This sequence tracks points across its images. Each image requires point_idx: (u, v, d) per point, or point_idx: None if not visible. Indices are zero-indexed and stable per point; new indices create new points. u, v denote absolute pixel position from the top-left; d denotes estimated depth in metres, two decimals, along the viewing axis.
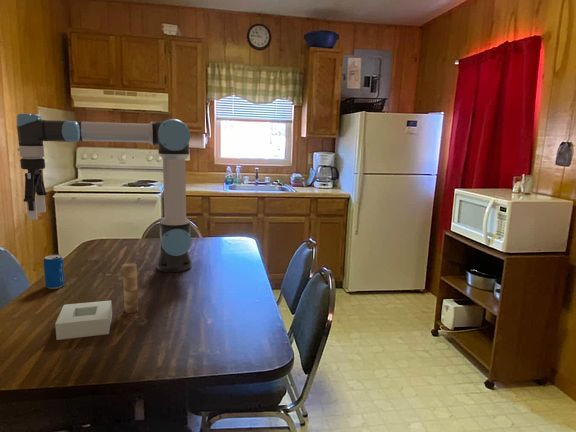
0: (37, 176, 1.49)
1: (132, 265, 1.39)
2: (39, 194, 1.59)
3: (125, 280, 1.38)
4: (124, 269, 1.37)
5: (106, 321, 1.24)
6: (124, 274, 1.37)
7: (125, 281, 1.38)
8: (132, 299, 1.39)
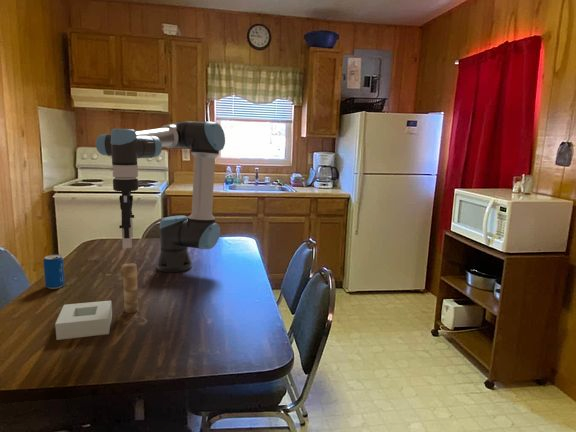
0: (130, 198, 1.33)
1: (132, 265, 1.39)
2: None
3: (125, 280, 1.38)
4: (124, 269, 1.37)
5: (106, 321, 1.24)
6: (124, 274, 1.37)
7: (125, 281, 1.38)
8: (132, 299, 1.39)
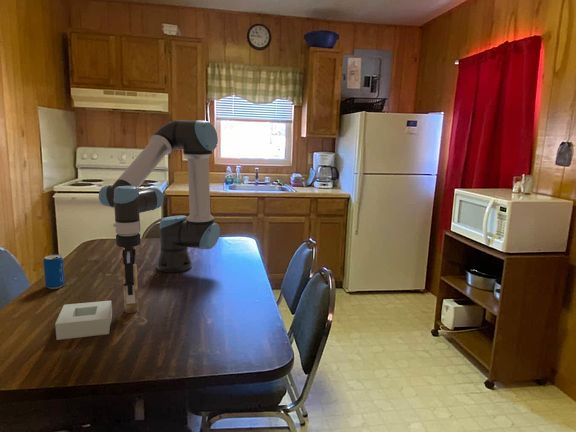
0: (133, 254, 1.36)
1: None
2: None
3: None
4: (124, 269, 1.37)
5: (106, 321, 1.24)
6: (124, 274, 1.37)
7: (125, 281, 1.38)
8: None
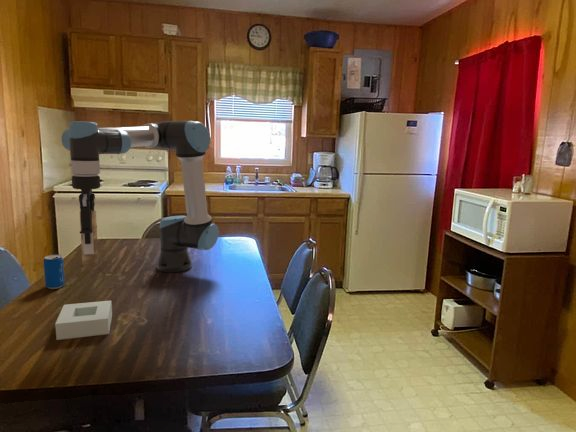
0: (91, 198, 1.22)
1: None
2: None
3: None
4: None
5: (106, 321, 1.24)
6: None
7: None
8: None
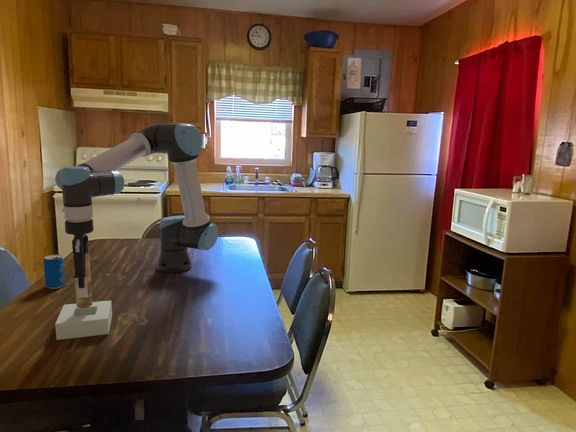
0: (84, 242, 1.23)
1: None
2: None
3: None
4: None
5: (106, 321, 1.24)
6: None
7: None
8: None
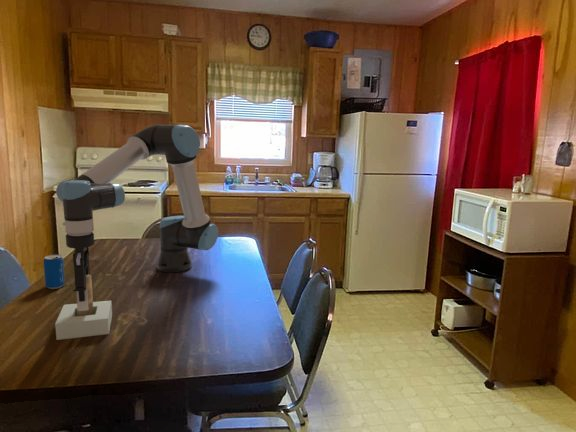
0: (85, 255, 1.23)
1: (86, 276, 1.27)
2: None
3: None
4: None
5: (106, 321, 1.24)
6: None
7: None
8: (86, 313, 1.27)
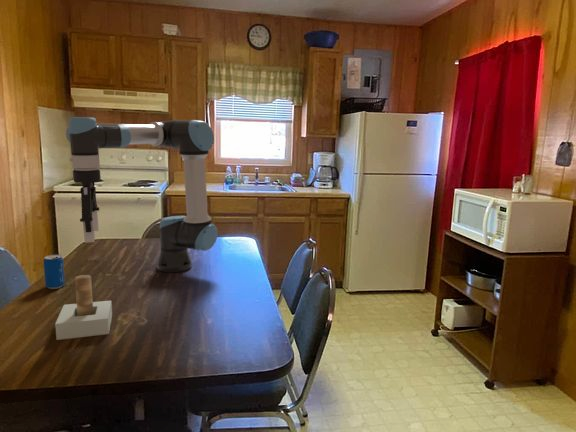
0: (92, 190, 1.27)
1: (85, 277, 1.27)
2: (91, 210, 1.36)
3: (78, 294, 1.25)
4: (76, 281, 1.25)
5: (106, 321, 1.24)
6: (76, 287, 1.25)
7: (78, 295, 1.25)
8: (86, 314, 1.27)
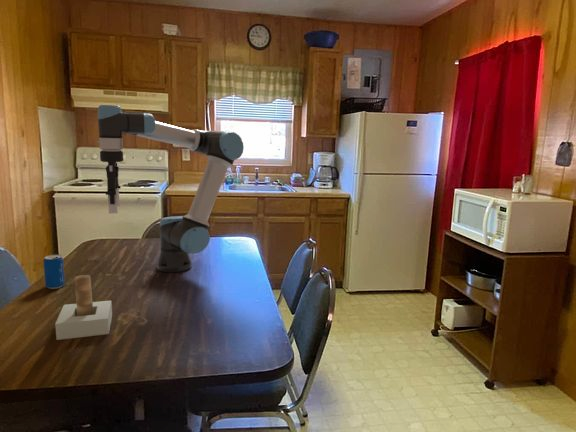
0: (116, 168, 1.46)
1: (85, 277, 1.27)
2: None
3: (77, 294, 1.25)
4: (76, 282, 1.25)
5: (106, 321, 1.24)
6: (76, 287, 1.25)
7: (77, 295, 1.25)
8: (86, 314, 1.27)
